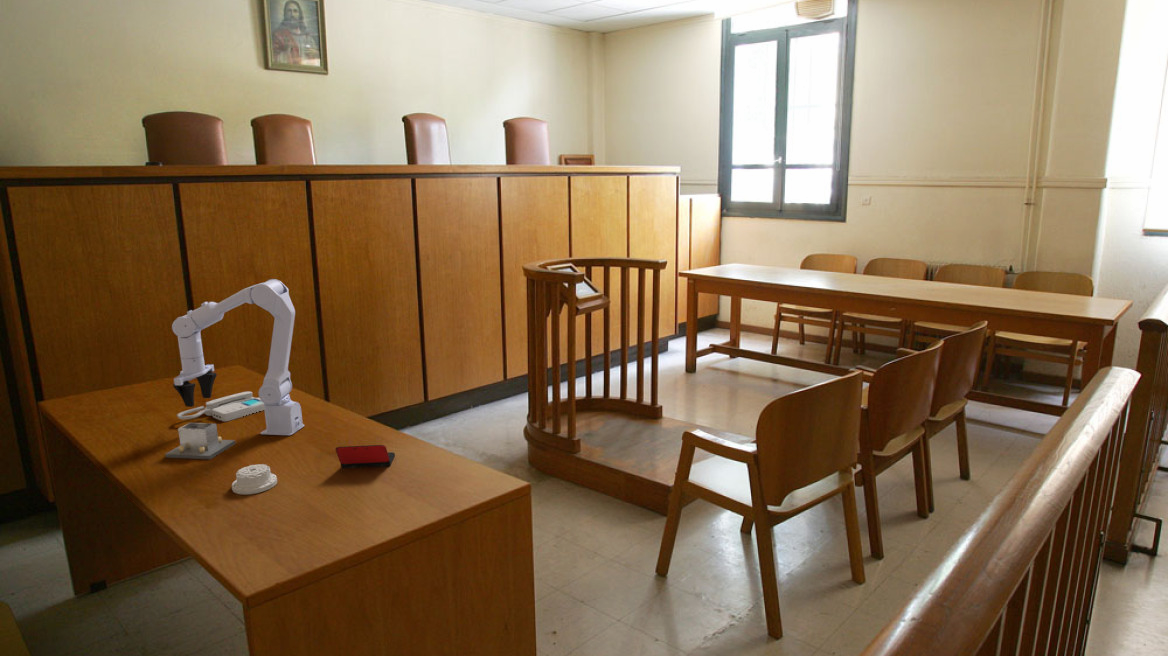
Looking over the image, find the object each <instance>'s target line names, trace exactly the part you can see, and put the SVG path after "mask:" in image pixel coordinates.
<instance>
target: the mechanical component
mask: <svg viewBox="0 0 1168 656" xmlns="http://www.w3.org/2000/svg"><path fill="white" fill-rule="evenodd" d="M235 477H236V478H235V480H234V481H233V482H232V484H231V490H232V492H233V493H235V494H238V495H254V494H255V495H256V494H259V493H262V492H265V491H268V490H271V489H272V488H274V487H275V486H276V485H277V483H278V478H277V475H276V474H274V473H272V472H271V467H270V466H268V465H267V464H266V463H265V464H264V463H262V464H259V463H258V464H250V465H249V466H245V467H242V468H240V469H239V470H237V471H236V473H235Z"/></svg>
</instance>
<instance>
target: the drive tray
mask: <svg viewBox="0 0 1168 656" xmlns="http://www.w3.org/2000/svg"><path fill="white" fill-rule="evenodd" d="M218 441H219V445H217V446H215V447H214V448H212V449H210V450H209V451H205V449H204V446H202V447H199V450H184V446H181V445H180V444H179V446H177V447H175V448H173V449H171V450H169V451H168V452H166V453H164V454H165V458H169V459H174V458H175V459H196V460H212V459H213V458H215V457H217V456H219V455H220V454H221V453H223V452H225V451H226V450H228V449H229V447H230V448H232V446H235V445H236V440H235V439H222V437H221V436H218ZM224 450H225V451H224ZM219 453H220V454H219ZM216 455H217V456H216Z"/></svg>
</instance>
